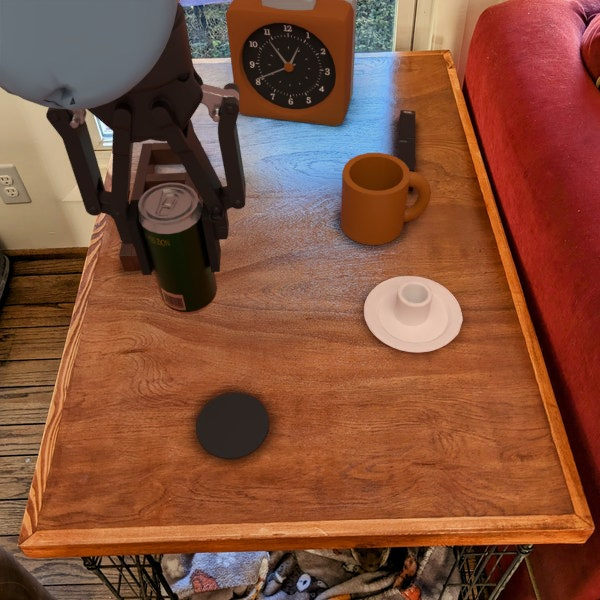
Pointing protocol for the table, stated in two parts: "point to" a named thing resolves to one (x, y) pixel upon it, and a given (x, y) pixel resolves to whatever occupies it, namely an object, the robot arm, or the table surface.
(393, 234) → the mug
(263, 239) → the table surface
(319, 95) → the alarm clock
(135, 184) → the can rack
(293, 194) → the table surface
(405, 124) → the black long bar
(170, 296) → the beer can
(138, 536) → the table surface
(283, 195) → the table surface
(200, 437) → the coaster
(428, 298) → the candle holder
